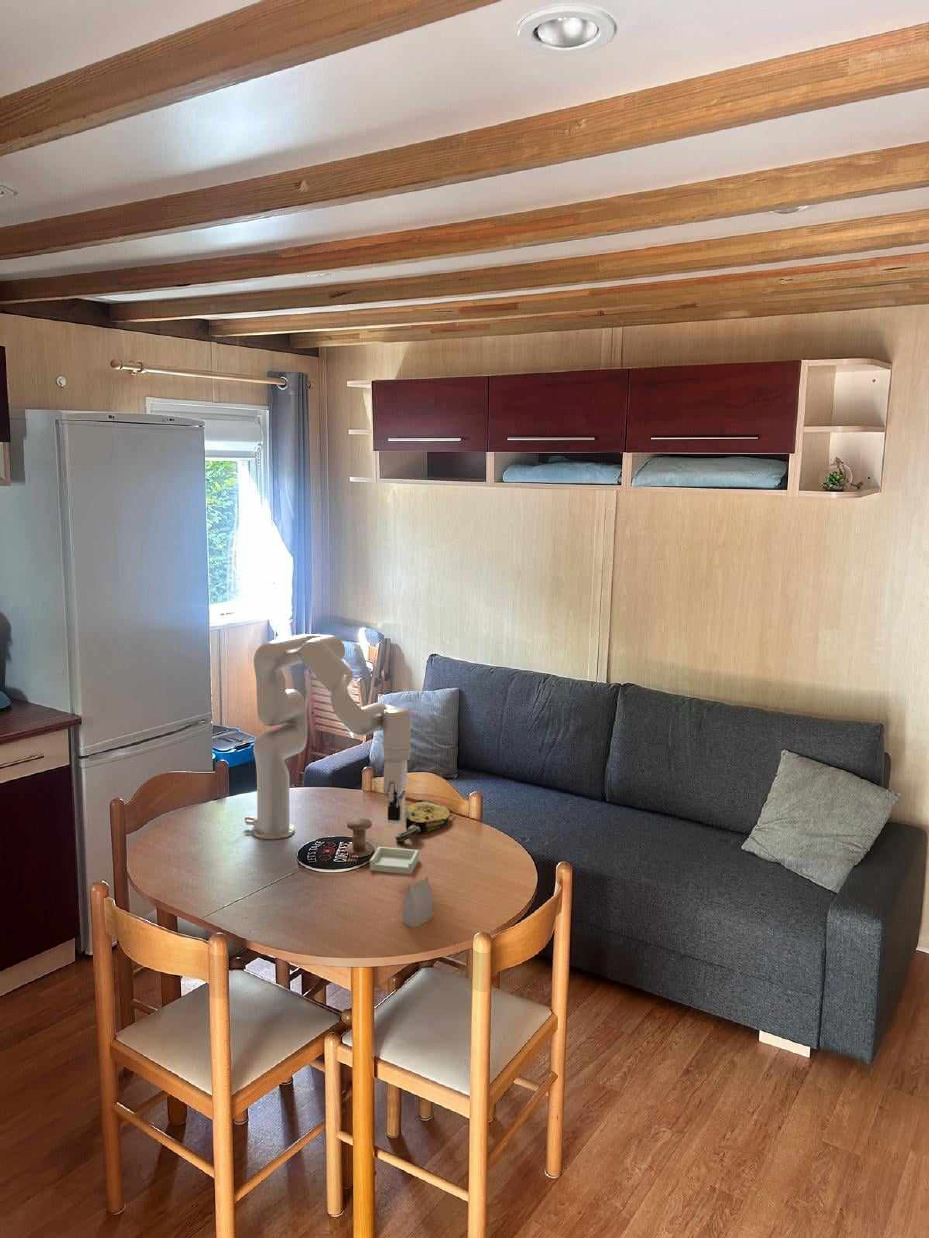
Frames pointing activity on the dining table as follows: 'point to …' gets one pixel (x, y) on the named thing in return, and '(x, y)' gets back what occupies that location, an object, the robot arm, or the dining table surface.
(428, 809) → the pulley block
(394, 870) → the open tray
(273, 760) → the robot arm
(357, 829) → the knob
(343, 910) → the dining table surface
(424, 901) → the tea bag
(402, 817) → the white grey rectangular block
